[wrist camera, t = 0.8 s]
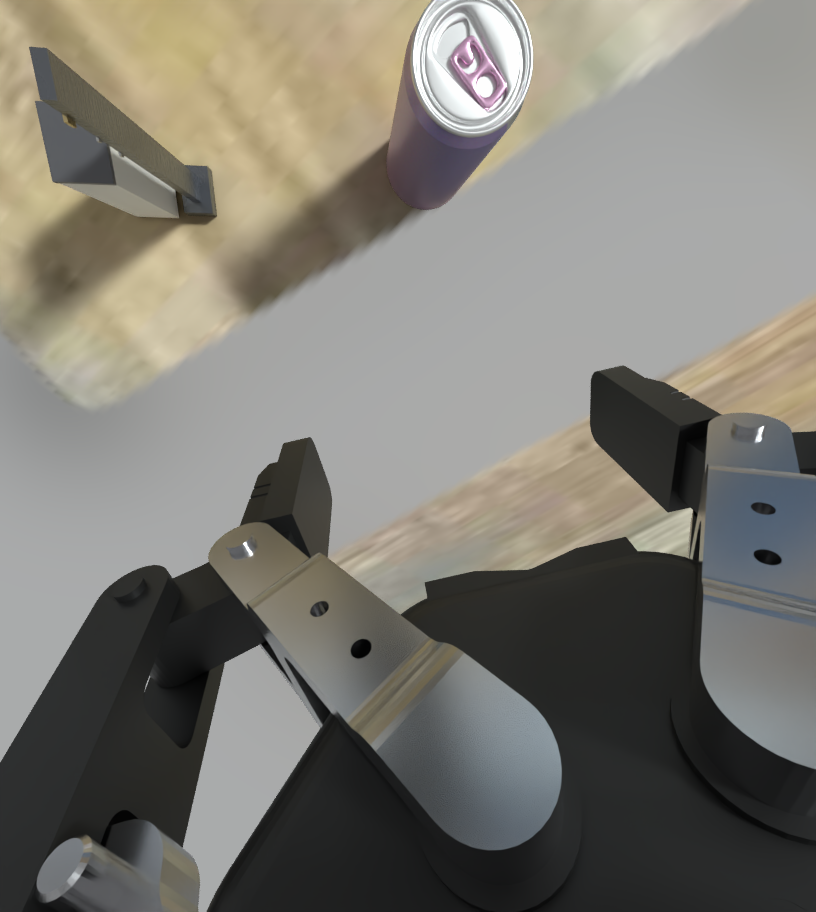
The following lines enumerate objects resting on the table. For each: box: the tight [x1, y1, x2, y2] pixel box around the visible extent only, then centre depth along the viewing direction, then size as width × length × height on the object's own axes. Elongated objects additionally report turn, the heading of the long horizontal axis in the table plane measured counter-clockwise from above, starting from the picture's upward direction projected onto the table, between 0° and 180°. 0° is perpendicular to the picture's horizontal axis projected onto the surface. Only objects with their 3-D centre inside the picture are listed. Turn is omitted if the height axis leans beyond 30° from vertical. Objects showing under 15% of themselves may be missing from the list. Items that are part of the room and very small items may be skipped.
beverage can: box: [386, 0, 533, 210], centre depth 26 cm, size 6×6×15 cm
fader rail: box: [29, 47, 217, 216], centre depth 24 cm, size 2×3×17 cm, turn 0°
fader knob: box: [35, 101, 179, 218], centre depth 27 cm, size 3×4×9 cm
